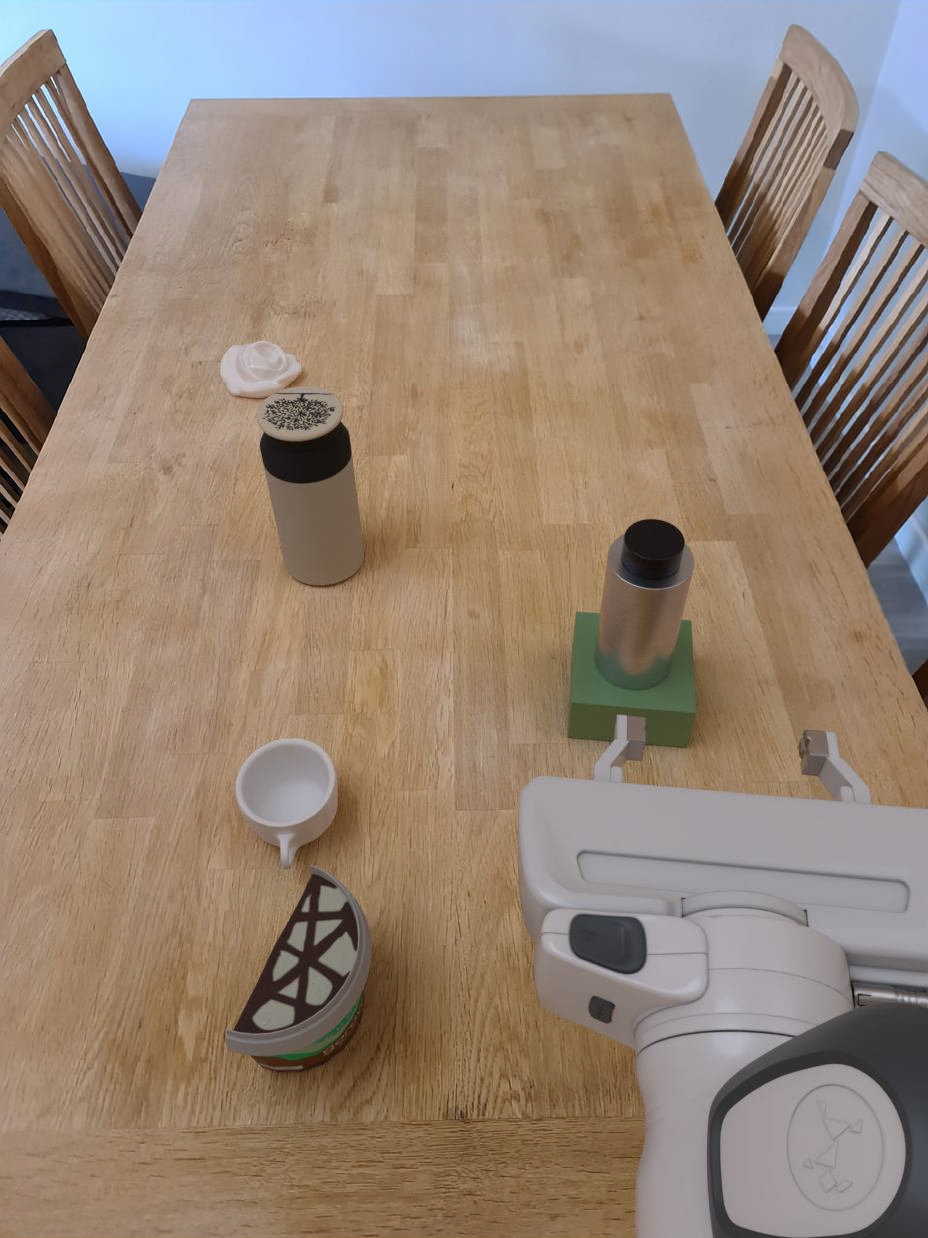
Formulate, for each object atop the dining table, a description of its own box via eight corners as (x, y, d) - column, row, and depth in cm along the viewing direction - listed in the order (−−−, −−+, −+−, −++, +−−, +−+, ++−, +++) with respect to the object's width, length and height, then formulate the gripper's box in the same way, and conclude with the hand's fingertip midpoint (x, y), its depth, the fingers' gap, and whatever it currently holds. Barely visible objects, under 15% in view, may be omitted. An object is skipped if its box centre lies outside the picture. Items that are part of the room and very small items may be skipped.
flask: (670, 634, 83) (697, 512, 73) (671, 693, 79) (700, 573, 69) (595, 628, 84) (611, 506, 73) (592, 686, 80) (609, 566, 69)
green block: (682, 656, 88) (691, 619, 84) (686, 748, 81) (696, 712, 78) (572, 647, 89) (576, 611, 85) (567, 737, 82) (571, 702, 79)
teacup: (250, 778, 80) (238, 741, 76) (344, 772, 80) (336, 734, 76) (241, 891, 73) (227, 857, 69) (343, 883, 74) (335, 849, 70)
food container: (335, 1125, 63) (315, 1077, 55) (251, 1090, 64) (220, 1038, 57) (408, 950, 70) (399, 886, 63) (331, 922, 72) (313, 857, 64)
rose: (211, 328, 117) (292, 317, 119) (219, 360, 120) (297, 348, 122) (218, 375, 111) (303, 362, 112) (226, 407, 114) (308, 394, 115)
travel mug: (353, 592, 94) (331, 443, 80) (274, 582, 95) (240, 433, 81) (373, 536, 99) (356, 387, 86) (298, 527, 100) (269, 379, 87)
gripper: (1030, 996, 38) (953, 709, 47) (503, 941, 40) (528, 676, 49) (971, 1051, 42) (911, 780, 51) (503, 999, 44) (525, 747, 53)
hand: (722, 729), depth 50 cm, fingers open, 8 cm apart
